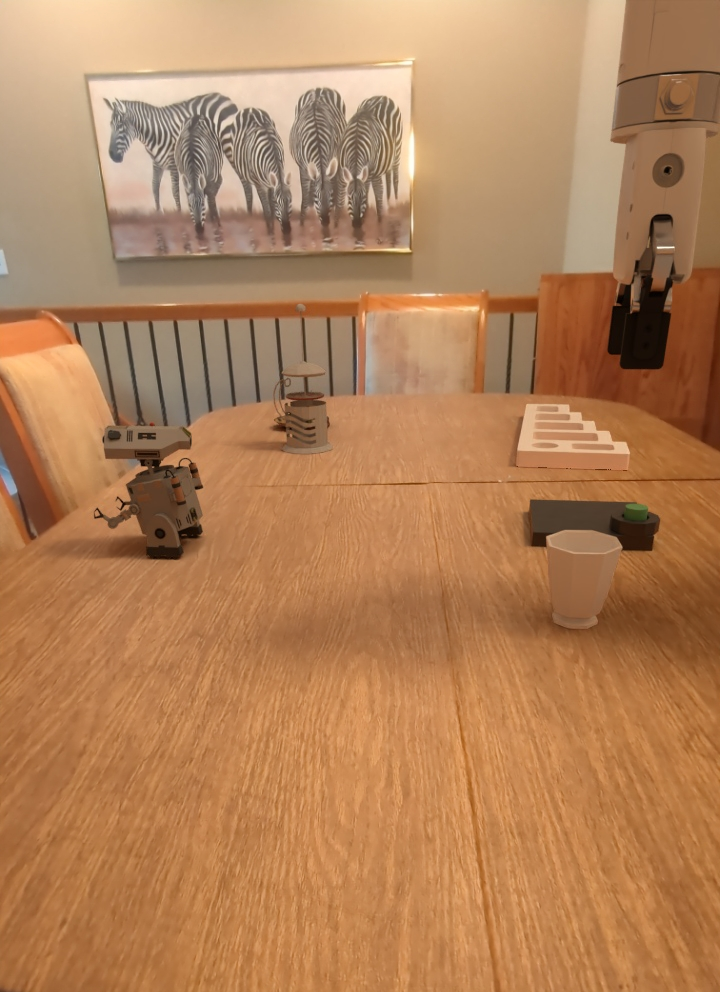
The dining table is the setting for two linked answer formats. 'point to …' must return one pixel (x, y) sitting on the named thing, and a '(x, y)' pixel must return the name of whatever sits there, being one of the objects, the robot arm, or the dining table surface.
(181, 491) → the figurine
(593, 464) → the holder
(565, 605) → the cup
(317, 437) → the french press
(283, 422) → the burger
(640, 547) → the scale
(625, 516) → the scale button
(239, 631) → the dining table surface
